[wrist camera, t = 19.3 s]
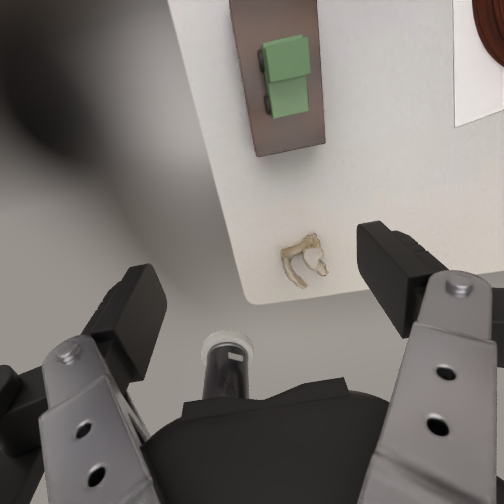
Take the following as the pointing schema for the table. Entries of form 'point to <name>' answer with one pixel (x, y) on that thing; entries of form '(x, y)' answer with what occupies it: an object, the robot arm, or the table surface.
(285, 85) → the toy truck
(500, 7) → the airplane diorama
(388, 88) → the table surface
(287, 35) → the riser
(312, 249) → the bone
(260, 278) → the table surface
